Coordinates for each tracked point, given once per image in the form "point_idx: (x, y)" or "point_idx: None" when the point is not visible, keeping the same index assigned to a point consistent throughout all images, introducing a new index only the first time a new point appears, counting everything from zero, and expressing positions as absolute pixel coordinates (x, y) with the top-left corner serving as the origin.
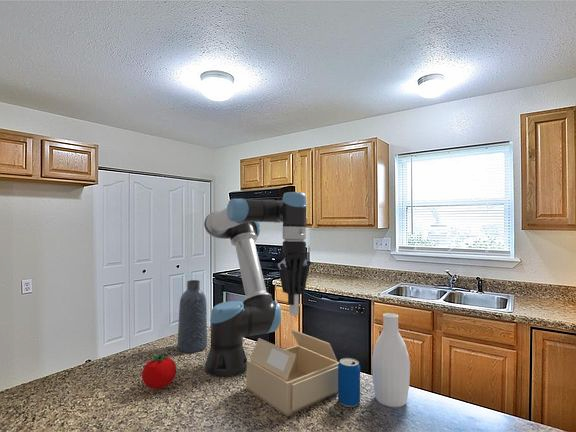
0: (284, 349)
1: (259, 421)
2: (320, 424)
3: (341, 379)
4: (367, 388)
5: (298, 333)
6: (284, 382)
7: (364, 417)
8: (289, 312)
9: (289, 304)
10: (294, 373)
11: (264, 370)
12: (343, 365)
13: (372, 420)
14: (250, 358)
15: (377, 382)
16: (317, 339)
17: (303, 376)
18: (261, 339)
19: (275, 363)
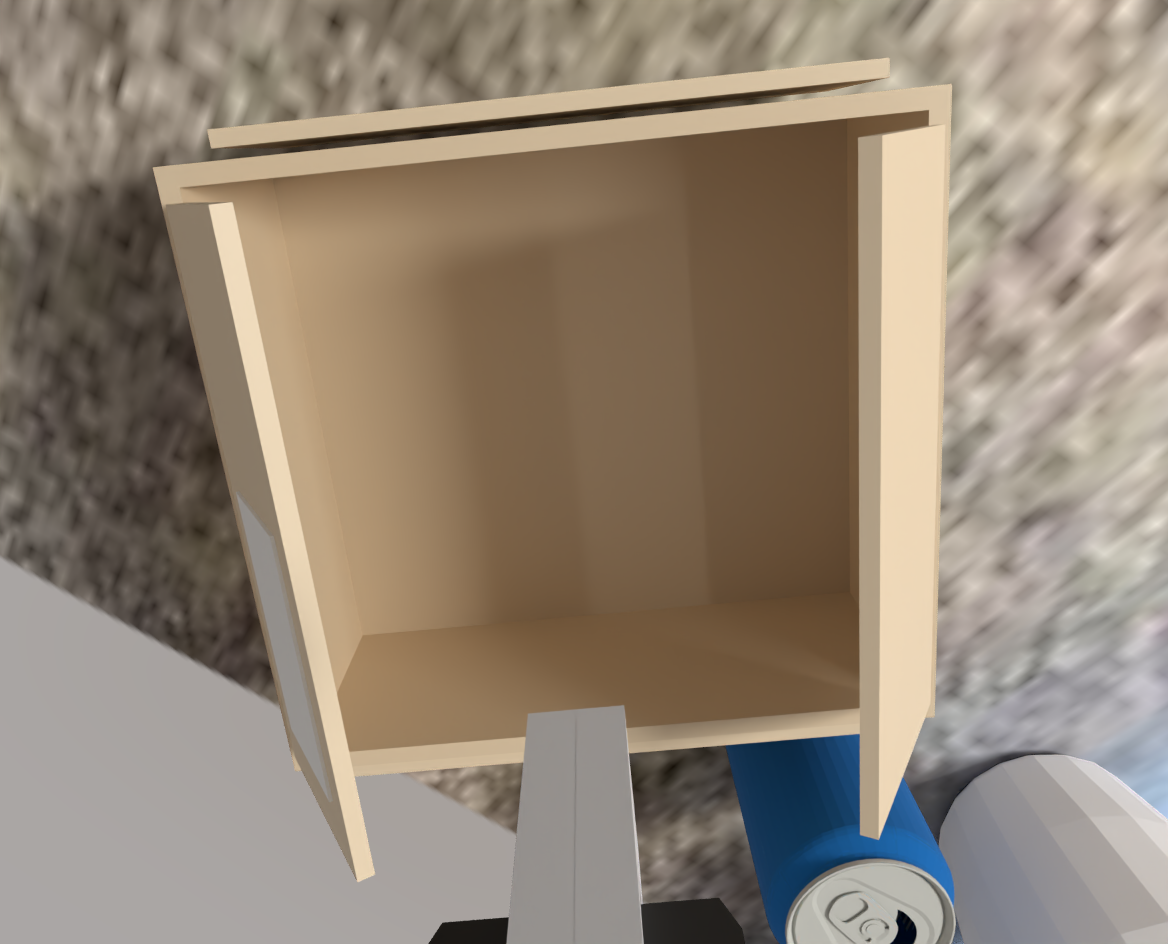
0: (322, 731)
1: (180, 593)
2: (484, 789)
3: (750, 843)
4: (1052, 663)
5: (860, 315)
6: (289, 742)
7: (740, 862)
8: (528, 731)
9: (517, 850)
10: (764, 173)
11: (229, 484)
12: (786, 933)
13: (753, 899)
14: (168, 212)
15: (972, 924)
16: (867, 674)
17: (477, 748)
18: (222, 279)
19: (271, 621)
